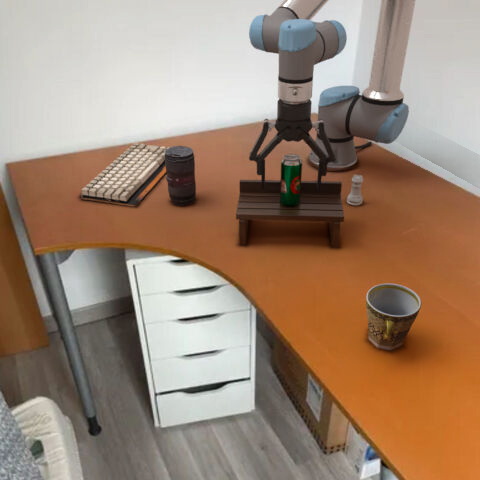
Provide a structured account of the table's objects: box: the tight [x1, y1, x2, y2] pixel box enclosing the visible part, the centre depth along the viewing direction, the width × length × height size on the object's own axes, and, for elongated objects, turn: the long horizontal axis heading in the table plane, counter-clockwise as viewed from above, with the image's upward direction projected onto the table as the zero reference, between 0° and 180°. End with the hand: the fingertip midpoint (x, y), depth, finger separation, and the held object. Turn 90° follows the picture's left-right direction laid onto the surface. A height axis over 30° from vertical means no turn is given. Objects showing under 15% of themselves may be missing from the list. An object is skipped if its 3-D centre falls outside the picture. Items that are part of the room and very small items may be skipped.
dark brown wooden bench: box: [235, 179, 345, 249], centre depth 133 cm, size 14×26×12 cm, turn 85°
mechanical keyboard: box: [79, 142, 171, 208], centre depth 164 cm, size 38×19×3 cm, turn 164°
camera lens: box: [165, 145, 197, 207], centre depth 146 cm, size 8×8×15 cm
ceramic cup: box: [365, 283, 422, 351], centre depth 100 cm, size 13×10×10 cm
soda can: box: [279, 153, 303, 207], centre depth 127 cm, size 5×5×12 cm
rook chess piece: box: [346, 174, 364, 207], centre depth 146 cm, size 4×4×8 cm
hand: (290, 187), depth 129 cm, fingers open, 13 cm apart
